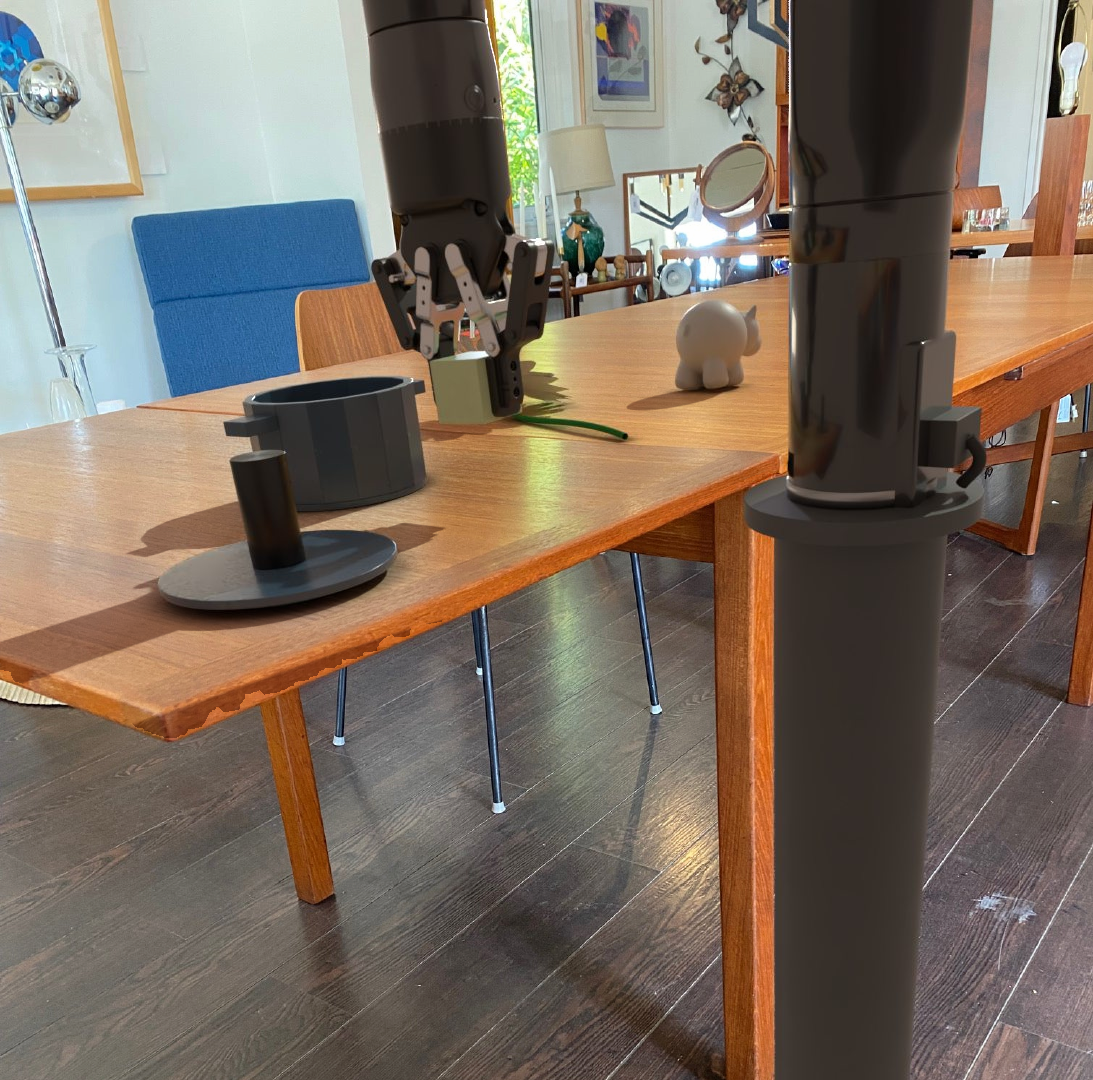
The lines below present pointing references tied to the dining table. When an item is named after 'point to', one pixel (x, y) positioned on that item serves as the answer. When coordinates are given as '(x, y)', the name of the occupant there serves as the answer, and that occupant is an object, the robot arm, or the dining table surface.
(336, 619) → the dining table surface
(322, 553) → the lid
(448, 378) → the block
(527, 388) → the flower
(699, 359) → the chubby cartoon animal
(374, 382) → the pot
